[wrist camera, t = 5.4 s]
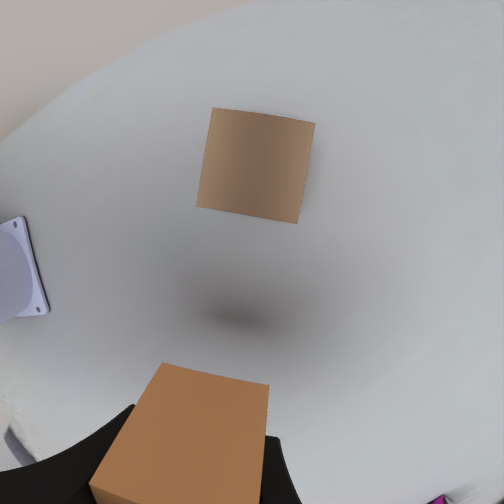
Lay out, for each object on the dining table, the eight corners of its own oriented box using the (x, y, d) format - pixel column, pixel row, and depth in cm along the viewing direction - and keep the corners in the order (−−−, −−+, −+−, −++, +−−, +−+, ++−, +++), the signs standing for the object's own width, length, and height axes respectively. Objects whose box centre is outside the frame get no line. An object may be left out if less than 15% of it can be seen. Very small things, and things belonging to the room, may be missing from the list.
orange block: (161, 431, 12) (113, 537, 6) (162, 362, 11) (88, 483, 5) (250, 451, 12) (233, 569, 6) (269, 385, 11) (256, 529, 5)
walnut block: (223, 197, 18) (196, 206, 12) (234, 129, 17) (212, 107, 11) (291, 209, 18) (297, 224, 12) (303, 141, 17) (315, 123, 11)
